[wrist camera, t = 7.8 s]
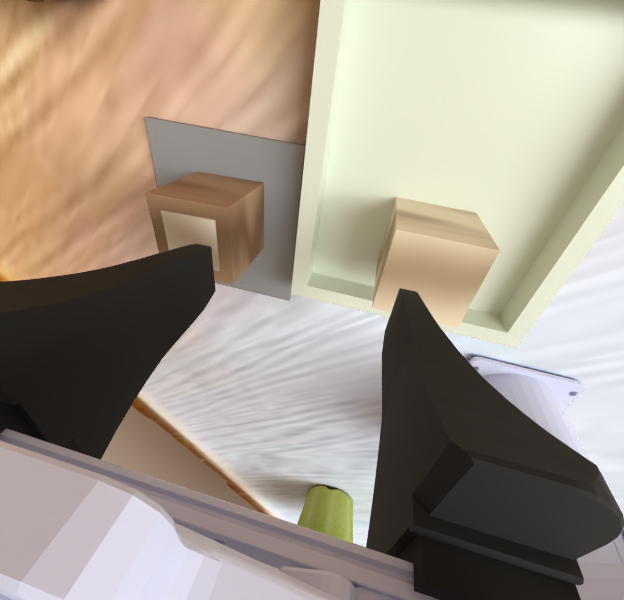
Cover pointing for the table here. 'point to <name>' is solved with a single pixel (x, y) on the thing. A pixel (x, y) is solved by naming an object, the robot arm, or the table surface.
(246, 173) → the felt mat
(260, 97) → the table surface
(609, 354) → the table surface
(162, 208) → the walnut block
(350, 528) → the plant pot
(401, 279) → the maple block
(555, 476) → the robot arm
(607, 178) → the parts tray
